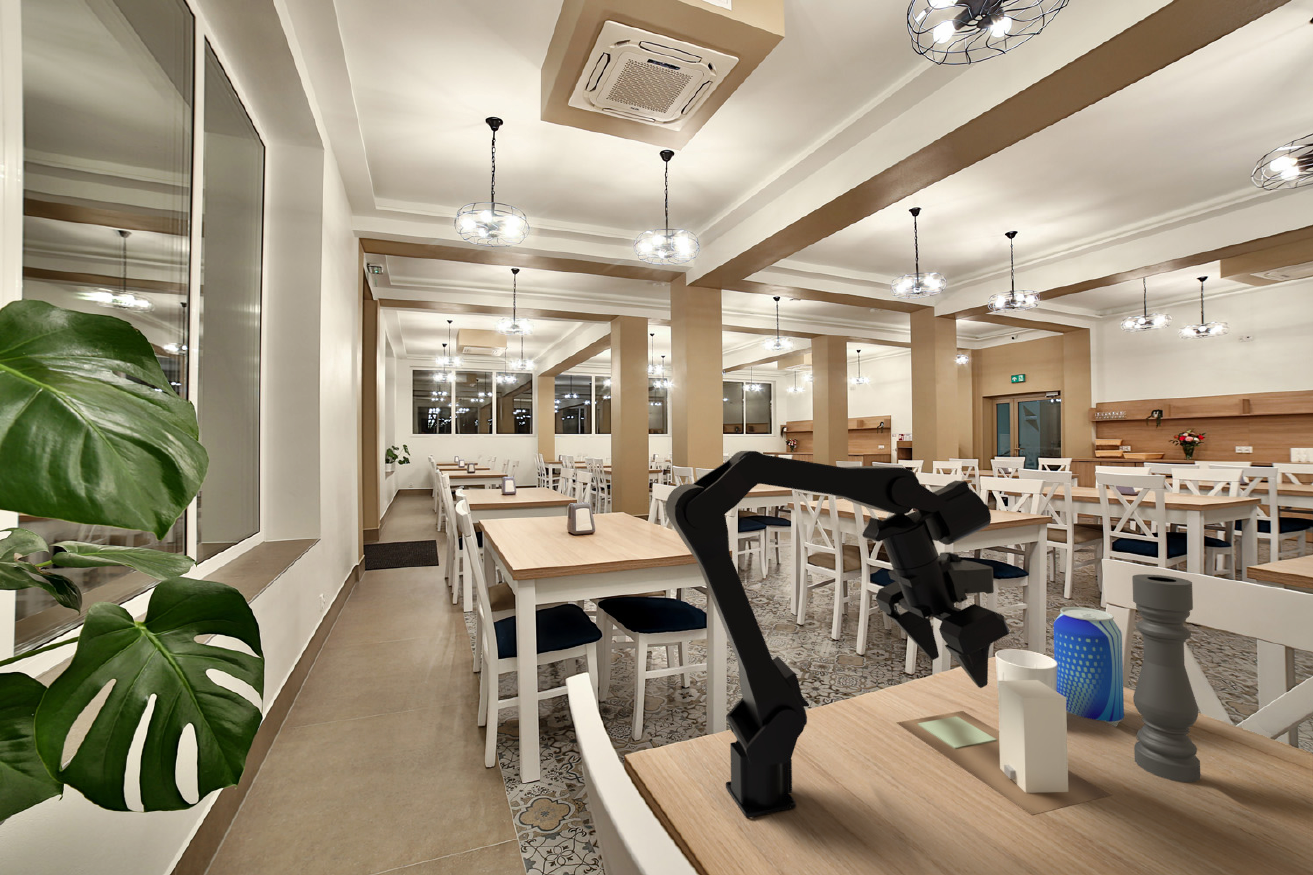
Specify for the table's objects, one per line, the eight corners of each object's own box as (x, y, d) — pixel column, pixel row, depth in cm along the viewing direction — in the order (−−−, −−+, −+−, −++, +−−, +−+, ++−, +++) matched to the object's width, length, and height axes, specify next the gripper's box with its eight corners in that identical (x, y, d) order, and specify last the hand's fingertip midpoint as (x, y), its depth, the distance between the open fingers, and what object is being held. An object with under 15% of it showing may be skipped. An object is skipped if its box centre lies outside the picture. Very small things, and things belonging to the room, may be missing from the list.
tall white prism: (1020, 792, 67) (1018, 698, 67) (995, 768, 72) (993, 680, 72) (1073, 791, 67) (1071, 697, 67) (1044, 767, 72) (1042, 679, 72)
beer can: (1043, 711, 90) (1041, 609, 90) (1075, 700, 94) (1073, 602, 94) (1104, 735, 82) (1101, 624, 83) (1136, 723, 86) (1133, 616, 86)
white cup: (998, 731, 84) (996, 662, 84) (995, 708, 91) (993, 645, 91) (1063, 743, 81) (1061, 672, 81) (1055, 719, 88) (1053, 653, 88)
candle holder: (1214, 797, 68) (1208, 586, 68) (1154, 791, 69) (1149, 584, 70) (1178, 768, 74) (1173, 574, 74) (1123, 763, 75) (1118, 573, 76)
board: (1032, 828, 63) (1030, 773, 63) (896, 732, 84) (895, 691, 84) (1112, 807, 66) (1111, 755, 67) (962, 720, 88) (961, 681, 88)
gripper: (1024, 546, 65) (1071, 672, 65) (924, 524, 83) (961, 623, 84) (940, 586, 63) (990, 715, 64) (857, 555, 82) (896, 655, 82)
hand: (957, 671), depth 73 cm, fingers open, 9 cm apart
